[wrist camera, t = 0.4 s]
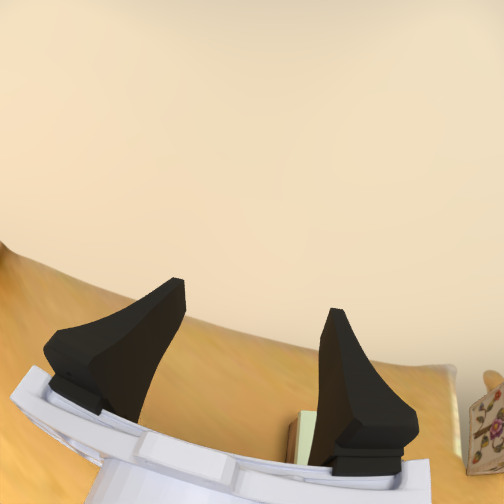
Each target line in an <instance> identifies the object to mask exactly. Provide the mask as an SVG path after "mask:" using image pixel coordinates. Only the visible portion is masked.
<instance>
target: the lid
mask: <svg viewBox="0 0 504 504" xmlns="http://www.w3.org/2000/svg"><path fill="white" fill-rule="evenodd" d="M316 416H317V412H316V411H304V410H301V411H300V412H299V413H298V423H297V436H296V447H295V458H294V464H298V465H307V464H308V459H309V455H310V450H311V445H312V440H313V435H314V429H315V422H316Z"/></svg>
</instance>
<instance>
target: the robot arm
mask: <svg viewBox="0 0 504 504" xmlns="http://www.w3.org/2000/svg"><path fill="white" fill-rule="evenodd" d="M185 312H186V301H185V285H184V280H183V279H179V278H174V277H173V278H171V279H170V280H168V281H167V282H165V283H164V284H162V285H161V286H160V287H158V288H157V289H155V290H154V291H152V292H151V293H149V294H148V295H146V296H145V297H143V298H141V299H140V300H138V301H136V302H135V303H133V304H131V305H130V306H128V307H126V308H124V309H122V310H120V311H118V312H116V313H114V314H112V315H110V316H107V317H105V318H102V319H99V320H97V321H94V322H91V323H88V324H85V325H81V326H77V327H73V328H68V329H62V330H57V331H56V333H55V334H54V335H53V336H52V337H51V339H50V340H49V341H48V342H47V343H46V345H45V346H44V348H43V351H44V355H45V357H46V359H47V360H48V362H49V364H50V365H51V367H52V368H53V370H54V372H55V375H54V376H53V378H52V376H51V375H49V374H48V373H47V372H45V371H44V370H42V369H40V368H39V367H37V366H36V365H33V366H32V368H31V369H30V370H29V371H28V373H27V374H26V375H25V377H24V378H23V379H22V381H21V382H20V383H19V385H18V386H17V388H16V389H15V390H14V392H13V393H12V395H11V396H10V399H11V400H12V402H13V403H14V404H15V405H16V406H17V407H18V408H19V409H20V410H21V411H22V412H23V414H24V415H25V416H26V417H27V418H28V419H29V420H30V421H31V422H32V423H34V424H35V425H36V426H38V427H39V428H40V429H42V430H43V431H45V432H46V433H47V434H49V435H50V436H52V437H53V438H55V439H56V440H57V441H59V442H60V443H62V444H63V445H65V446H66V447H68V448H69V449H71V450H72V451H74V452H76V453H77V454H79V455H80V456H82V457H84V458H85V459H87V460H89V461H90V462H92V463H94V464H95V465H97V466H99V467H101V469H100V471H99V473H98V475H97V477H96V479H95V481H94V483H93V485H92V487H91V489H90V491H89V493H88V495H87V498H86V500H85V502H84V504H432V502H431V478H430V464H429V459H417V460H408V461H404V462H402V463H401V456H403V455H404V447H405V446H406V445H407V444H409V443H410V442H411V441H412V440H413V439H414V438H415V437H416V436H417V435H418V433H419V425H418V418H417V415H416V411H415V410H413V409H412V408H411V407H410V406H409V405H407V404H406V403H405V402H404V401H403V400H402V399H401V398H400V397H399V396H398V395H397V394H396V393H394V392H393V390H392V389H391V388H390V387H389V386H388V385H387V384H386V383H385V381H384V380H383V379H382V378H381V377H380V375H379V374H378V373H377V372H376V370H375V369H374V367H373V366H372V364H371V363H370V361H369V360H368V358H367V356H366V355H365V353H364V351H363V350H362V348H361V346H360V344H359V342H358V340H357V338H356V336H355V334H354V332H353V330H352V328H351V326H350V324H349V321H348V319H347V317H346V314H345V312H344V311H343V309H336V308H330V311H329V314H328V317H327V320H326V323H325V326H324V329H323V332H322V334H321V337H320V347H319V398H318V408H317V416H316V422H315V429H314V435H313V440H312V445H311V450H310V455H309V459H308V464H307V465H298V464H289V463H282V462H275V461H268V460H262V459H257V458H251V457H246V456H241V455H237V454H232V453H228V452H223V451H219V450H215V449H211V448H208V447H204V446H200V445H197V444H193V443H190V442H187V441H183V440H180V439H177V438H174V437H171V436H168V435H165V434H162V433H160V432H157V431H154V430H151V429H149V428H146V427H143V426H141V425H138V424H137V423H138V419H139V416H140V412H141V409H142V406H143V403H144V400H145V397H146V394H147V391H148V389H149V386H150V383H151V381H152V378H153V376H154V373H155V371H156V369H157V366H158V364H159V362H160V360H161V358H162V357H163V355H164V353H165V351H166V350H167V348H168V346H169V344H170V343H171V341H172V339H173V338H174V336H175V334H176V332H177V331H178V329H179V327H180V325H181V322H182V320H183V317H184V315H185Z"/></svg>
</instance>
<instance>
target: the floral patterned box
mask: <svg viewBox="0 0 504 504" xmlns="http://www.w3.org/2000/svg"><path fill="white" fill-rule="evenodd" d="M468 458H469V459H468V466H467V475H481V474H496V473H503V472H504V382H503V383H502V384H500V385H499V386H498V387H496V388H495V389H493V390H492V391H491V392H489V393H488V394H487V395H485V396H484V397H482V398H481V399H480V400H478V401H477V402H475V403H474V404H473V405H472V406H471V407H470V437H469V457H468Z"/></svg>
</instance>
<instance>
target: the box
mask: <svg viewBox="0 0 504 504" xmlns="http://www.w3.org/2000/svg"><path fill="white" fill-rule="evenodd" d="M297 423H298V418H297V419H296V420H295V421H294V422H293V423H291V424H290V425H289V435H288V445H287V455H286V463H289V464H294V458H295V447H296V436H297Z"/></svg>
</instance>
